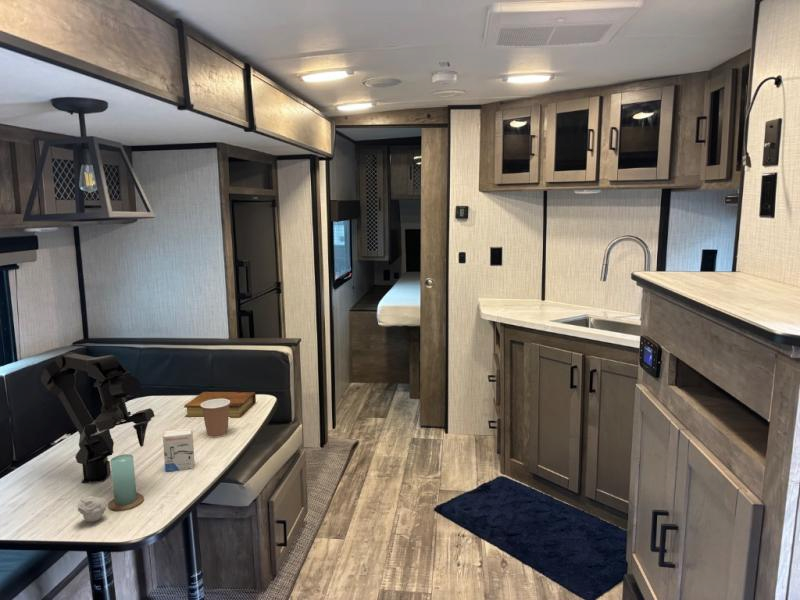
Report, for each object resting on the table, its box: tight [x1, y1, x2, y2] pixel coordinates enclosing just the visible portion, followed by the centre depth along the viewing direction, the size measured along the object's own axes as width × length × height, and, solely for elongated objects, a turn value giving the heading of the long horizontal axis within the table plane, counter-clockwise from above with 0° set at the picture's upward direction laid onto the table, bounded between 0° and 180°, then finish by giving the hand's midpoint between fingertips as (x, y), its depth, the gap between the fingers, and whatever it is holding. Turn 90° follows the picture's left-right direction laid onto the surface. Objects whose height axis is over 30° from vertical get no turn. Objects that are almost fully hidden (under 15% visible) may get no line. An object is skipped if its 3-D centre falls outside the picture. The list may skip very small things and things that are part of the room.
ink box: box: [162, 428, 195, 473], centre depth 177 cm, size 9×5×12 cm, turn 105°
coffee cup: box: [201, 399, 230, 438], centre depth 204 cm, size 10×10×12 cm
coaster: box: [107, 492, 145, 512], centre depth 155 cm, size 9×9×1 cm
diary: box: [183, 391, 257, 419], centre depth 232 cm, size 23×19×6 cm
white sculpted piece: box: [76, 495, 107, 523], centre depth 146 cm, size 6×7×7 cm
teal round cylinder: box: [110, 453, 137, 506], centre depth 154 cm, size 6×6×12 cm
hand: (126, 450), depth 163 cm, fingers open, 9 cm apart
